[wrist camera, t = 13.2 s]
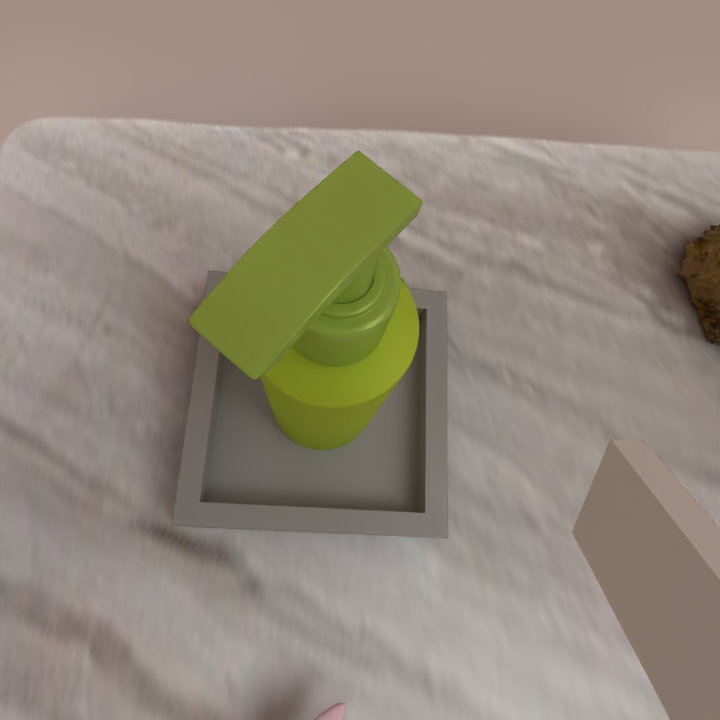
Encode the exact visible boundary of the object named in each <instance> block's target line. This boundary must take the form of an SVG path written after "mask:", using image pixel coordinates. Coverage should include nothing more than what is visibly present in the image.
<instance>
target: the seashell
mask: <svg viewBox="0 0 720 720" xmlns="http://www.w3.org/2000/svg"><path fill="white" fill-rule="evenodd" d="M685 250H686V254H685V258H684V259H682V271H681V272H680V273H678V276H679V277H681V278H683V279H685V280H686V282H687V288H688V289H689V290H690V293H691V300H690V301H689V302H691V303H694V304H695V305H696V306H697V311H698V312H699V314H700V323H701V324H702V326H703V327H704V329H705V331H706V334H707V338H708V340H709V341H710V342H711V343H716V344H717V345H718V346H720V225H719V226H711V230H707V231H704V237H702V238H701V237H699V238H695V239H693V243H689V244H688V245H686V246H685Z"/></svg>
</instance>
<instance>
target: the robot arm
mask: <svg viewBox="0 0 720 720" xmlns="http://www.w3.org/2000/svg"><path fill="white" fill-rule="evenodd" d="M572 533H573V535H574V537H575V539H576V540H577V542H578V544H579V546H580V548H581V550H582V552H583V554H584V556H585V558H586V560H587V561H588V563H589V565H590V567H591V569H592V571H593V573H594V575H595V577H596V579H597V580H598V582H599V584H600V586H601V588H602V590H603V592H604V594H605V596H606V598H607V599H608V601H609V603H610V605H611V607H612V609H613V611H614V613H615V615H616V617H617V619H618V620H619V622H620V624H621V626H622V628H623V630H624V632H625V634H626V636H627V638H628V639H629V641H630V643H631V645H632V647H633V649H634V651H635V653H636V655H637V657H638V659H639V660H640V662H641V664H642V666H643V668H644V670H645V672H646V674H647V676H648V678H649V679H650V681H651V683H652V685H653V687H654V689H655V691H656V693H657V695H658V697H659V699H660V700H661V702H662V704H663V706H664V708H665V710H666V712H667V714H668V716H669V718H670V719H671V720H720V528H719V527H718V526H717V525H716V524H715V522H714V521H713V520H712V519H711V518H710V517H709V515H708V514H707V513H706V512H705V511H704V510H703V508H702V507H701V506H700V505H699V504H698V503H697V502H696V500H695V499H694V498H693V497H692V496H691V495H690V493H689V492H688V491H687V490H686V489H685V488H684V486H683V485H682V484H681V483H680V482H679V481H678V480H677V478H676V477H675V476H674V475H673V474H672V473H671V471H670V470H669V469H668V468H667V467H666V466H665V464H664V463H663V462H662V461H661V460H660V459H659V458H658V456H657V455H656V454H655V453H654V452H653V451H652V449H651V448H650V447H649V446H648V445H647V444H646V442H645V441H634V440H620V439H610V442H609V444H608V447H607V449H606V451H605V454H604V456H603V459H602V461H601V463H600V466H599V468H598V471H597V473H596V476H595V478H594V480H593V483H592V485H591V488H590V490H589V492H588V495H587V497H586V500H585V502H584V504H583V507H582V509H581V512H580V514H579V517H578V519H577V521H576V524H575V526H574V529H573V531H572Z"/></svg>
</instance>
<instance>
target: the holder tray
mask: <svg viewBox="0 0 720 720" xmlns="http://www.w3.org/2000/svg"><path fill="white" fill-rule="evenodd" d="M227 273H228V272H218V271H208V278H207V285H206V292H205V298H206V297H207V296H208V295H209V294H210V293H211V291H212V290H213V289H214V288H215V287H216V286H217V285H218V283H219V282H220V281H221V280H222V279H223V278H224V277H225V275H226V274H227ZM408 289H409V290H410V292H411V294H412V297H413V299H414V302H415V304H416V308H417V312H418V318H419V339H418V345H417V349H416V352H415V355H414V357H413V360H412V362H411V364H410V366H409V368H408V369H407V371H406V372H405V374H404V375H403V376H402V378H401V379H400V381H399V382H398V383H397V385H396V386H395V387H394V389H393V390H392V391H391V393H390V394H389V396H388V397H387V398H386V400H385V401H384V402H383V404H382V405H381V406H380V408H379V409H378V411H377V412H376V413H375V415H374V416H373V417H372V419H371V420H370V421H369V423H368V424H367V425H366V427H365V428H364V430H363V431H362V432H361V433H360V434H359V435H358V436H357V437H356V438H355V439H354V440H352V441H351V442H349V443H348V444H346V445H344V446H341V447H338V448H335V449H330V450H315V449H310V448H306V447H304V446H301V445H299V444H297V443H296V442H294V441H293V440H291V439H290V438H289V437H288V436H287V435H286V434H285V433H284V432H283V431H282V430H281V428H280V427H279V425H278V423H277V421H276V419H275V417H274V414H273V411H272V408H271V405H270V403H269V400H268V397H267V394H266V392H265V389H264V386H263V383H262V380H261V378H260V377H259V378H257V379H252V378H250V377H249V376H248V375H246V374H245V373H244V372H243V371H242V370H241V369H239V368H238V367H237V366H236V365H235V364H234V363H232V362H231V361H230V360H229V359H228V358H227V357H226V356H224V355H223V354H222V353H221V352H220V351H219V350H217V349H216V348H215V347H214V346H213V345H212V344H211V343H210V342H208V341H207V340H206V339H205V338H204V337H203V336H202V335H200V334H199V340H198V347H197V354H196V361H195V367H194V374H193V381H192V388H191V395H190V402H189V409H188V416H187V422H186V429H185V436H184V443H183V450H182V457H181V464H180V471H179V478H178V484H177V491H176V498H175V505H174V512H173V519H172V526H184V527H206V528H229V529H251V530H274V531H297V532H319V533H342V534H364V535H387V536H409V537H432V538H448V495H447V295H446V292H444V291H433V290H421V289H410V288H408ZM204 300H205V299H204Z"/></svg>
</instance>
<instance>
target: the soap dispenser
mask: <svg viewBox="0 0 720 720" xmlns="http://www.w3.org/2000/svg"><path fill="white" fill-rule="evenodd" d="M421 204H422V200H421V199H419V198H418V197H417V196H416V195H414V194H413V193H412V192H411V191H409V190H408V189H407V188H406V187H404V186H403V185H402V184H400V183H399V182H398V181H397V180H395V179H394V178H393V177H392V176H390V175H389V174H388V173H387V172H385V171H384V170H383V169H381V168H380V167H379V166H378V165H376V164H375V163H374V162H373V161H371V160H370V159H369V158H367V157H366V156H365V155H364V154H362V153H361V152H360V151H357V152H355V153H354V154H353V155H352V156H351V157H350V158H348V159H347V160H346V161H345V162H344V163H343V164H341V165H340V166H339V167H338V168H337V169H336V170H334V171H333V172H332V173H331V174H330V175H329V176H327V177H326V178H325V179H324V180H323V181H322V182H321V183H319V184H318V185H317V186H316V187H315V188H314V189H313V190H311V191H310V192H309V193H308V194H307V195H306V196H305V197H304V198H302V199H301V200H300V201H299V202H298V203H297V204H296V205H295V206H294V207H292V208H291V209H290V210H289V211H288V212H287V213H286V214H285V215H284V216H283V217H282V218H281V219H279V220H278V221H277V222H276V223H275V224H274V225H273V226H272V227H271V228H270V229H269V230H268V231H267V232H266V233H265V234H264V235H263V236H262V237H261V238H260V239H259V240H258V241H257V242H256V243H255V244H254V245H253V246H252V247H251V248H250V249H249V250H248V251H247V252H246V253H245V255H244V256H243V257H242V258H241V259H240V260H239V261H238V262H237V263H236V264H235V265H234V266H233V268H232V269H231V270H230V271H229V272H228V273H227V274H226V275H225V277H224V278H223V279H222V280H221V281H220V282H219V283H218V285H217V286H216V287H215V288H214V289H213V290H212V291H211V293H210V294H209V295H208V296H207V297H206V298H205V300H204V301H203V302H202V303H201V304H200V306H199V307H198V308H197V309H196V310H195V312H194V313H193V314H192V315H191V317H190V318H189V320H188V323H189V324H190V326H191V327H193V328H194V329H195V330H196V331H197V332H198V333H199V334H200V335H202V336H203V337H204V338H205V339H206V340H207V341H208V342H210V343H211V344H212V345H213V346H214V347H215V348H216V349H217V350H219V351H220V352H221V353H222V354H223V355H224V356H226V357H227V358H228V359H229V360H230V361H231V362H232V363H234V364H235V365H236V366H237V367H238V368H239V369H241V370H242V371H243V372H244V373H245V374H246V375H248V376H249V377H250V378H252V379H257V378H259V377H260V378H261V380H262V383H263V386H264V389H265V392H266V394H267V397H268V400H269V403H270V405H271V408H272V411H273V414H274V417H275V419H276V421H277V423H278V425H279V427H280V428H281V430H282V431H283V432H284V433H285V434H286V435H287V436H288V437H289V438H290V439H291V440H293V441H294V442H296V443H297V444H299V445H301V446H304V447H306V448H310V449H315V450H330V449H335V448H338V447H341V446H344V445H346V444H348V443H349V442H351V441H352V440H354V439H355V438H356V437H357V436H358V435H359V434H360V433H361V432H362V431H363V430H364V428H365V427H366V425H367V424H368V423H369V421H370V420H371V419H372V417H373V416H374V415H375V413H376V412H377V411H378V409H379V408H380V406H381V405H382V404H383V402H384V401H385V400H386V398H387V397H388V396H389V394H390V393H391V391H392V390H393V389H394V387H395V386H396V385H397V383H398V382H399V381H400V379H401V378H402V376H403V375H404V374H405V372H406V371H407V369H408V368H409V366H410V364H411V362H412V360H413V357H414V355H415V352H416V349H417V345H418V339H419V318H418V312H417V308H416V304H415V302H414V299H413V297H412V294H411V292H410V290H409V289H408V287H407V285H406V284H405V282H404V281H403V280H402V278H401V277H400V272H399V268H398V265H397V263H396V260H395V258H394V256H393V255H392V253H391V252H390V250H389V249H388V248H387V247H386V246H387V245H388V244H389V243H390V242H391V241H392V240H393V239H394V238H395V237H396V236H397V235H398V234H399V233H400V232H401V231H402V230H403V229H404V228H405V227H406V226H407V225H408V224H409V223H410V222H411V221H412V220H413V219H414V218H415V217H416V216H417V215H418V212H419V210H420V207H421Z"/></svg>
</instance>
